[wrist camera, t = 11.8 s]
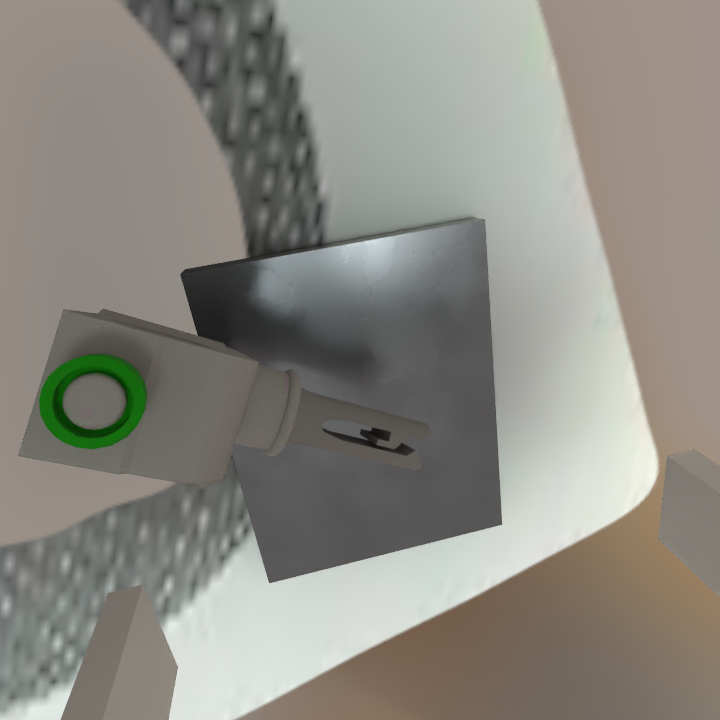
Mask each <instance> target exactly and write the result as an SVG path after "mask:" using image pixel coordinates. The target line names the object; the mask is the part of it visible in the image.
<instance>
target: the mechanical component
mask: <svg viewBox="0 0 720 720" xmlns="http://www.w3.org/2000/svg"><path fill="white" fill-rule="evenodd" d="M258 364H259V362H258V361H256V360H254V359H252V358H250V357H248V356H246V355H244V354H242V353H240V352H238V351H236V350H234V349H231V348H228V347H226V346H225V344H224V343H221V342H217V341H214V340H210V339H207V338H203V337H200V336H196V335H193V334H189V333H186V332H182V331H179V330H175V329H172V328H168V327H165V326H161V325H158V324H154V323H151V322H147V321H144V320H141V319H137V318H134V317H130V316H127V315H123V314H119V313H116V312H113V311H109V310H105V309H103V310H101V311H100V312H99V313H98V314H95V313H87V312H80V311H72V310H63V313H62V316H61V320H60V323H59V326H58V329H57V332H56V335H55V339H54V342H53V345H52V348H51V351H50V355H49V358H48V361H47V364H46V367H45V371H44V374H43V377H42V380H41V384H40V387H39V390H38V393H37V397H36V400H35V403H34V406H33V410H32V413H31V416H30V419H29V422H28V425H27V429H26V432H25V435H24V438H23V442H22V445H21V448H20V451H19V454H18V456H21V457H26V458H32V459H38V460H43V461H48V462H54V463H60V464H65V465H70V466H76V467H81V468H87V469H92V470H98V471H104V472H109V473H115V474H125V473H127V474H133V475H139V476H145V477H150V478H156V479H161V480H166V481H172V482H178V483H188V484H211V483H217V482H220V481H222V480H223V479H224V478H225V475H226V472H227V468H228V465H229V461H230V458H231V455H232V451H233V448H234V445H235V444H240V445H245V446H249V447H254V448H259V449H263V450H264V452H265V453H266V454H267V455H268V456H271V457H273V456H276V455H278V454H279V453H280V452H281V451H282V450H283V448H284V447H285V445H286V443H291V444H302V445H306V446H311V447H315V448H319V449H324V450H328V451H333V452H337V453H341V454H346V455H350V456H355V457H359V458H363V459H368V460H372V461H377V462H381V463H385V464H390V465H394V466H399V467H403V468H407V469H412V470H418V469H420V468H421V467H422V465H421V461H420V458H419V456H418V454H417V451H416V450H414V449H412V448H411V447H409V446H407V445H405V444H403V443H402V442H403V441H404V440H405V439H406V438H407V437H408V436H410V437H414V438H418V439H424V438H425V437H427V436H429V435H430V434H432V433H431V430H430V427H429V426H428V424H426V423H424V422H420V421H416V420H413V419H409V418H405V417H401V416H398V415H394V414H390V413H387V412H383V411H379V410H375V409H372V408H368V407H364V406H360V405H357V404H353V403H349V402H345V401H342V400H338V399H334V398H330V397H327V396H323V395H319V394H315V393H313V392H310V391H308V390H306V389H304V388H302V387H301V378H300V375H299V373H298V372H297V371H296V370H295V369H288V370H286V371H285V372H283V371H280V370H276V369H272V368H269V367H265V366H262V365H258ZM328 420H329V421H350V422H354V423H358V424H362V425H366V426H370V427H372V429H371V431H368V430H364V429H361V430H360V435H362V436H363V437H365V438H366V439H368V440H365V439H361V438H357V437H353V436H349V435H344V434H340V433H336V432H332V431H328V430H326V429H324V428H322V426H323V423H324V422H325V421H328Z"/></svg>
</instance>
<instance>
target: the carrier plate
mask: <svg viewBox="0 0 720 720" xmlns="http://www.w3.org/2000/svg"><path fill="white" fill-rule="evenodd" d="M181 279H182V282H183V285H184V289H185V292H186V296H187V299H188V303H189V306H190V310H191V313H192V317H193V320H194V324H195V327H196V330H197V334H198V336H200V337H203V338H207V339H210V340H214V341H217V342H221V343H224V344H225V346H226V347H228V348H231V349H234V350H236V351H238V352H240V353H242V354H244V355H246V356H248V357H250V358H252V359H254V360H256V361H258V362H259V364H258V365H262V366H265V367H269V368H272V369H276V370H280V371H283V372H285V371H286V370H288V369H295V370H296V371H297V372H298V373H299V375H300V378H301V387H302V388H304V389H306V390H308V391H310V392H313V393H315V394H319V395H323V396H327V397H330V398H334V399H338V400H342V401H345V402H349V403H353V404H357V405H360V406H364V407H368V408H372V409H375V410H379V411H383V412H387V413H390V414H394V415H398V416H401V417H405V418H409V419H413V420H416V421H420V422H424V423H426V424H428V426H429V427H430V430H431V433H432V434H430V435H429V436H427V437H425V438H424V439H418V438H414V437H410V436H408V437H407V438H406V439H405V440H404V441H403V442H402V443H403V444H405V445H407V446H409V447H411V448H412V449H414V450H416V451H417V454H418V456H419V458H420V461H421V465H422V467H421V468H420V469H418V470H412V469H407V468H403V467H399V466H394V465H390V464H385V463H381V462H377V461H372V460H368V459H363V458H359V457H355V456H350V455H346V454H341V453H337V452H333V451H328V450H324V449H319V448H315V447H311V446H306V445H302V444H291V443H286V445H285V447H284V448H283V450H282V451H281V452H280V453H279V454H278V455H276V456H273V457H271V456H268V455H267V454H266V453H265V452H264V450H263V449H259V448H254V447H249V446H245V445H240V444H235V445H234V448H233V451H232V456H233V459H234V463H235V466H236V470H237V473H238V476H239V480H240V483H241V487H242V490H243V494H244V497H245V501H246V504H247V508H248V511H249V515H250V518H251V522H252V525H253V529H254V532H255V535H256V539H257V542H258V546H259V549H260V553H261V556H262V560H263V563H264V567H265V570H266V574H267V577H268V581H269V583H272V582H276V581H280V580H284V579H288V578H292V577H296V576H300V575H304V574H308V573H312V572H316V571H320V570H324V569H328V568H332V567H336V566H340V565H344V564H348V563H351V562H355V561H359V560H363V559H367V558H371V557H375V556H379V555H383V554H387V553H391V552H395V551H399V550H403V549H407V548H411V547H415V546H419V545H423V544H427V543H431V542H435V541H439V540H443V539H447V538H451V537H455V536H459V535H463V534H467V533H471V532H475V531H478V530H482V529H486V528H490V527H494V526H498V525H502V515H501V497H500V479H499V462H498V444H497V426H496V408H495V391H494V373H493V355H492V337H491V320H490V302H489V284H488V266H487V249H486V231H485V219H480V218H469V219H463V220H457V221H452V222H446V223H441V224H435V225H430V226H424V227H418V228H413V229H407V230H402V231H396V232H391V233H385V234H380V235H374V236H368V237H363V238H357V239H352V240H346V241H341V242H335V243H329V244H324V245H318V246H313V247H307V248H302V249H296V250H290V251H285V252H279V253H274V254H268V255H263V256H257V257H252V258H246V259H241V260H235V261H229V262H224V263H218V264H214V265H207V266H201V267H196V268H191V269H185V270H184V271H183V272H182V273H181ZM322 428H324V429H326V430H328V431H332V432H336V433H340V434H344V435H349V436H353V437H357V438H361V439H365V440H368V439H366V438H365V437H363V436H362V435H360V430H361V429H364V430H368V431H371V429H372V427H370V426H366V425H362V424H358V423H354V422H350V421H329V420H328V421H325V422H324V423H323V426H322Z"/></svg>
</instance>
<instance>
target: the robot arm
mask: <svg viewBox="0 0 720 720" xmlns="http://www.w3.org/2000/svg"><path fill="white" fill-rule="evenodd" d="M658 539H659V540H660V541H661V542H662V543H663V544H664V545H665V546H666V547H667V548H668V549H669V550H670V551H671V552H672V553H674V554H675V555H676V556H677V557H678V558H679V559H680V560H681V561H682V562H683V563H684V564H685V565H686V566H687V567H688V568H690V569H691V570H692V571H693V572H694V573H695V574H696V575H697V576H698V577H699V578H700V579H701V580H702V581H703V582H704V583H705V584H706V585H708V586H709V587H710V588H711V589H712V590H713V591H714V592H715V593H716V594H717V595H718V596H720V465H718V464H716V463H715V462H713V461H712V460H710V459H708V458H707V457H706V456H704V455H702V454H701V453H699V452H698V451H696V450H695V449H692V450H688V451H684V452H680V453H676V454H672V455H668V456H667V462H666V471H665V481H664V490H663V500H662V509H661V519H660V529H659V538H658ZM177 669H178V666H177V664H176V662H175V659H174V657H173V654H172V652H171V650H170V647H169V645H168V643H167V640H166V638H165V636H164V633H163V631H162V629H161V626H160V624H159V622H158V619H157V617H156V614H155V612H154V610H153V607H152V605H151V603H150V600H149V598H148V596H147V593H146V591H145V589H144V586H143V585H139V586H135V587H131V588H127V589H123V590H119V591H115V592H111V593H108V595H107V597H106V600H105V603H104V606H103V608H102V611H101V614H100V616H99V619H98V622H97V624H96V627H95V630H94V632H93V635H92V638H91V640H90V643H89V646H88V648H87V651H86V654H85V656H84V659H83V662H82V664H81V667H80V670H79V672H78V675H77V678H76V680H75V683H74V686H73V688H72V691H71V694H70V696H69V699H68V702H67V704H66V707H65V710H64V712H63V715H62V718H61V720H168V719H169V714H170V708H171V702H172V697H173V691H174V686H175V680H176V674H177Z"/></svg>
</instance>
